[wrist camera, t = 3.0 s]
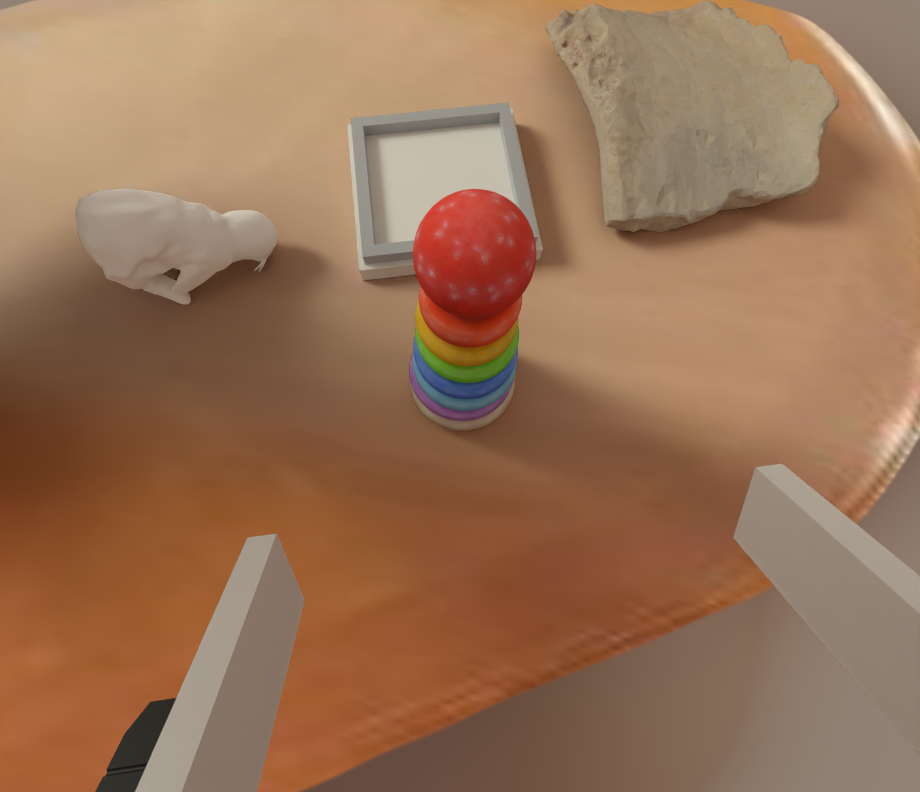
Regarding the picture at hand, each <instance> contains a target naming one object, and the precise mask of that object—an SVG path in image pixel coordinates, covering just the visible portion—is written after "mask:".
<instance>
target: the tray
mask: <svg viewBox="0 0 920 792" xmlns="http://www.w3.org/2000/svg"><path fill="white" fill-rule="evenodd" d="M348 137H349V149H350V161H351V174H352V186H353V198H354V211H355V223H356V235H357V248H358V260H359V271H360V273H361V276H362V278H363V281H364V280H372V279H381V278H389V277H398V276H407V275H415V274H416V273H415V270H414V264H413V245H414V240H415V235H416V232H417V229H418V227H419V224H420V222H421V221H422V219H423V218H424V216H425V215H426V213H427V212H428V211H429V210H430V209H431V208H432V207H433V206H434V205H435V204H436V203H437V202H438V201H440V200H441V199H442V198H444V197H446V196H448V195H450V194H452V193H455V192H458V191H461V190H467V189H483V190H489V191H493V192H496V193H498V194H500V195H502V196H504V197H506V198H507V199H509V200H510V201H512V202H513V203H514V204H515V205H517V206H518V208H519V209H520V210H521V211H522V212H523V214H524V215H525V216H526V218H527V220H528V221H529V223H530V225H531V228H532V231H533V234H534V238H535V243H536V260H540V257H541V253H542V250H543V248H542V243H541V238H540V234H539V229H538V225H537V220H536V216H535V211H534V206H533V202H532V197H531V193H530V188H529V183H528V179H527V174H526V170H525V165H524V160H523V156H522V151H521V147H520V142H519V138H518V133H517V128H516V124H515V119H514V115H513V110H512V108H510V106H509V102H508V103H498V104H488V105H479V106H469V107H459V108H449V109H439V110H429V111H419V112H409V113H400V114H390V115H380V116H370V117H360V118H351V124H350V125H348Z"/></svg>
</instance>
